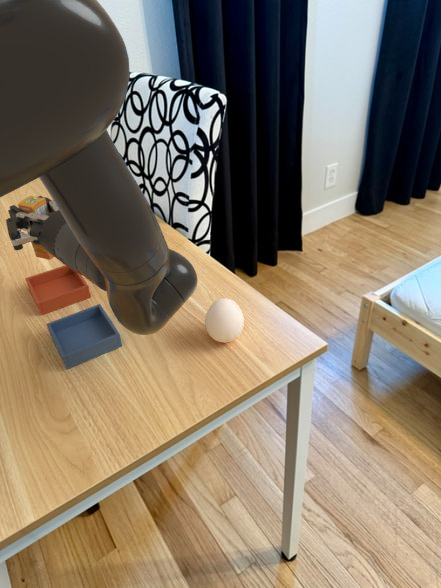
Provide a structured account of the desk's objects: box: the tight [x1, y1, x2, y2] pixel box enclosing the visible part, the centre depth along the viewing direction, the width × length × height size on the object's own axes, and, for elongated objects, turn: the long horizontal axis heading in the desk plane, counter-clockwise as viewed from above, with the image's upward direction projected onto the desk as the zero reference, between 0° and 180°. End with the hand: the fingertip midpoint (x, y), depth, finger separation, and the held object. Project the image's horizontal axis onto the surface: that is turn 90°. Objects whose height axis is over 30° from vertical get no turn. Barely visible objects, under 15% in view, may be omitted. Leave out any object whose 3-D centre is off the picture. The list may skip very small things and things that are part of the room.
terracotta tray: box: [24, 265, 92, 316], centre depth 79 cm, size 9×9×3 cm
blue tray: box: [46, 303, 123, 370], centre depth 68 cm, size 9×9×3 cm
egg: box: [204, 297, 245, 344], centre depth 67 cm, size 6×6×8 cm
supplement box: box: [17, 195, 55, 261], centre depth 70 cm, size 3×3×10 cm
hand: (26, 206), depth 70 cm, fingers closed on supplement box, 4 cm apart
